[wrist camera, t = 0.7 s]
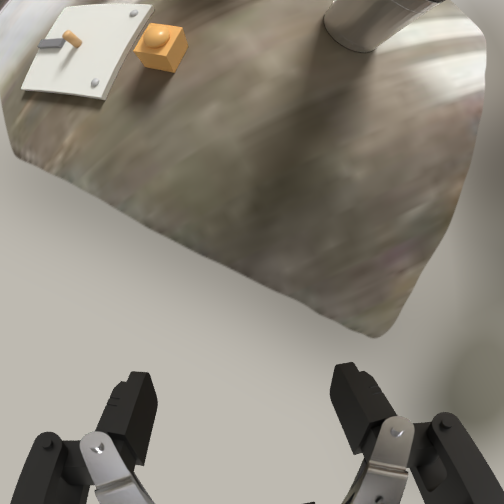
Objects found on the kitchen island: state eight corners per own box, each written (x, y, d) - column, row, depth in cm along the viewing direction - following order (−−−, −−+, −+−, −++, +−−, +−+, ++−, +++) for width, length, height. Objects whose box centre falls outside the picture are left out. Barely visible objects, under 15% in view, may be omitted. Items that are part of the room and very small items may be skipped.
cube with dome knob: (159, 41, 26) (147, 19, 20) (188, 46, 27) (181, 23, 21) (145, 67, 27) (130, 47, 21) (174, 72, 28) (164, 52, 22)
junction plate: (68, 10, 22) (54, -3, 16) (154, 9, 25) (146, -10, 19) (25, 90, 25) (6, 84, 20) (105, 100, 28) (87, 89, 23)
